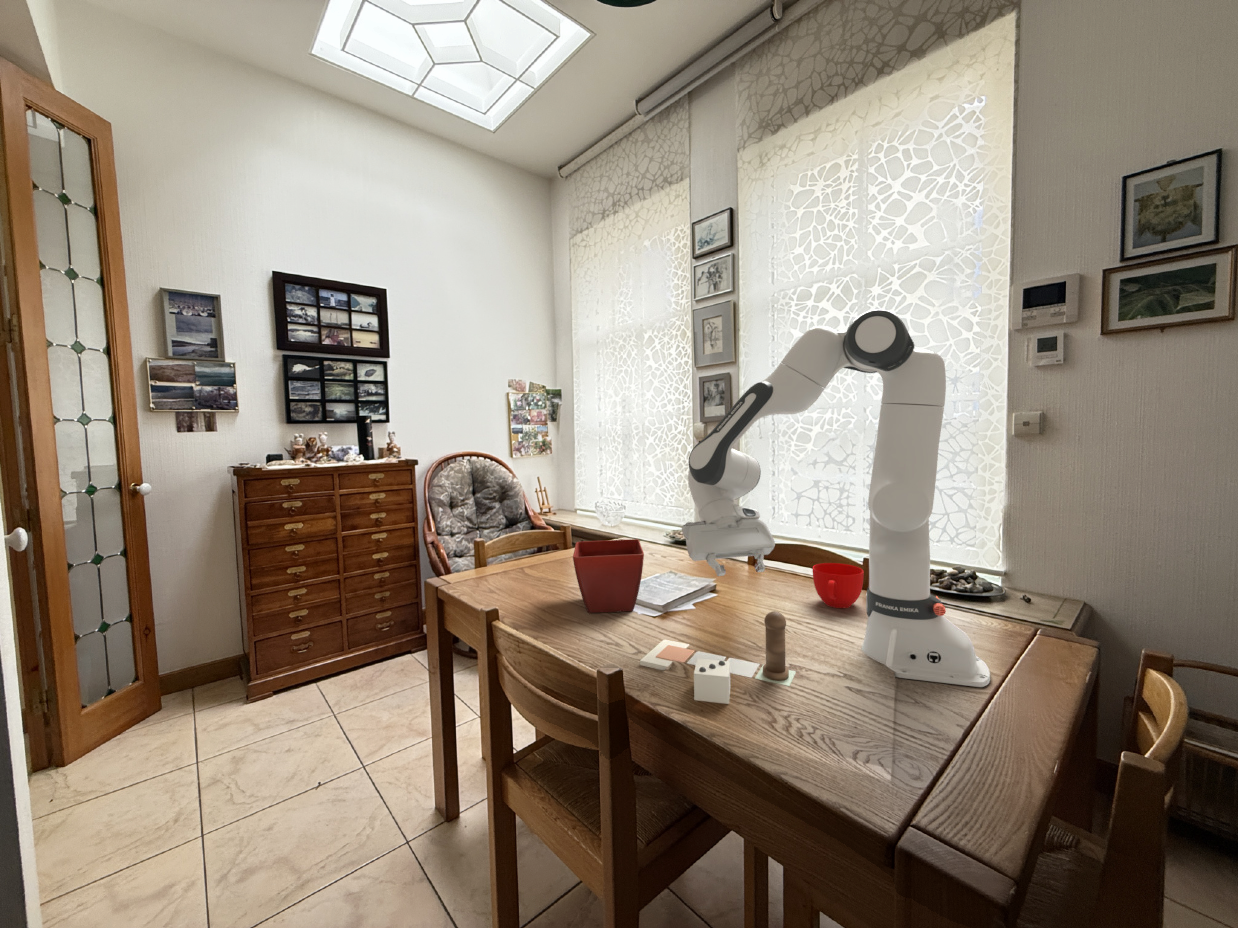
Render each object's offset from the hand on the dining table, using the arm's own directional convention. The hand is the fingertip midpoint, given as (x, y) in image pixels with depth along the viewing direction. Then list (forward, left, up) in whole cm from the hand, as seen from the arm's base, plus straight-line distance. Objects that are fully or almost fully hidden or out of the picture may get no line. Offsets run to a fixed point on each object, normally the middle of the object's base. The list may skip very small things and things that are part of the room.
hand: (741, 572), depth 106 cm
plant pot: (+43, -14, -18) cm, 48 cm away
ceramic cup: (-14, -40, -18) cm, 46 cm away
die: (0, +21, -18) cm, 27 cm away
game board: (+2, +9, -18) cm, 20 cm away
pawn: (-9, +9, -17) cm, 21 cm away
